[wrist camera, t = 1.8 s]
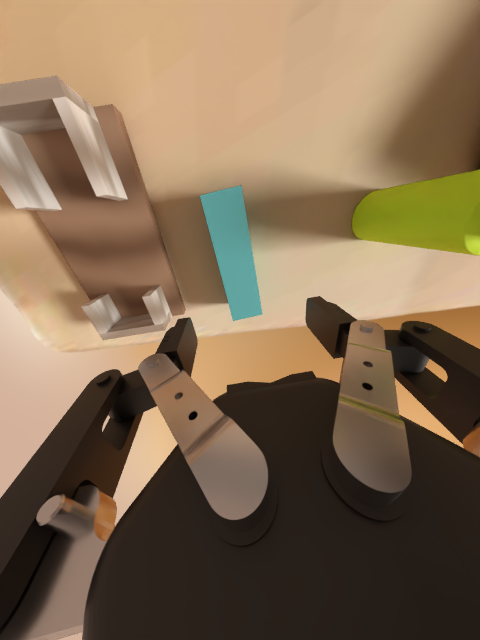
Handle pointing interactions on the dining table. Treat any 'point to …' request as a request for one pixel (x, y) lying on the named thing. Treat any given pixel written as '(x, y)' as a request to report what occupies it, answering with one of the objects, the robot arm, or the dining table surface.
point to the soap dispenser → (424, 214)
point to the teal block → (233, 250)
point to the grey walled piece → (88, 202)
